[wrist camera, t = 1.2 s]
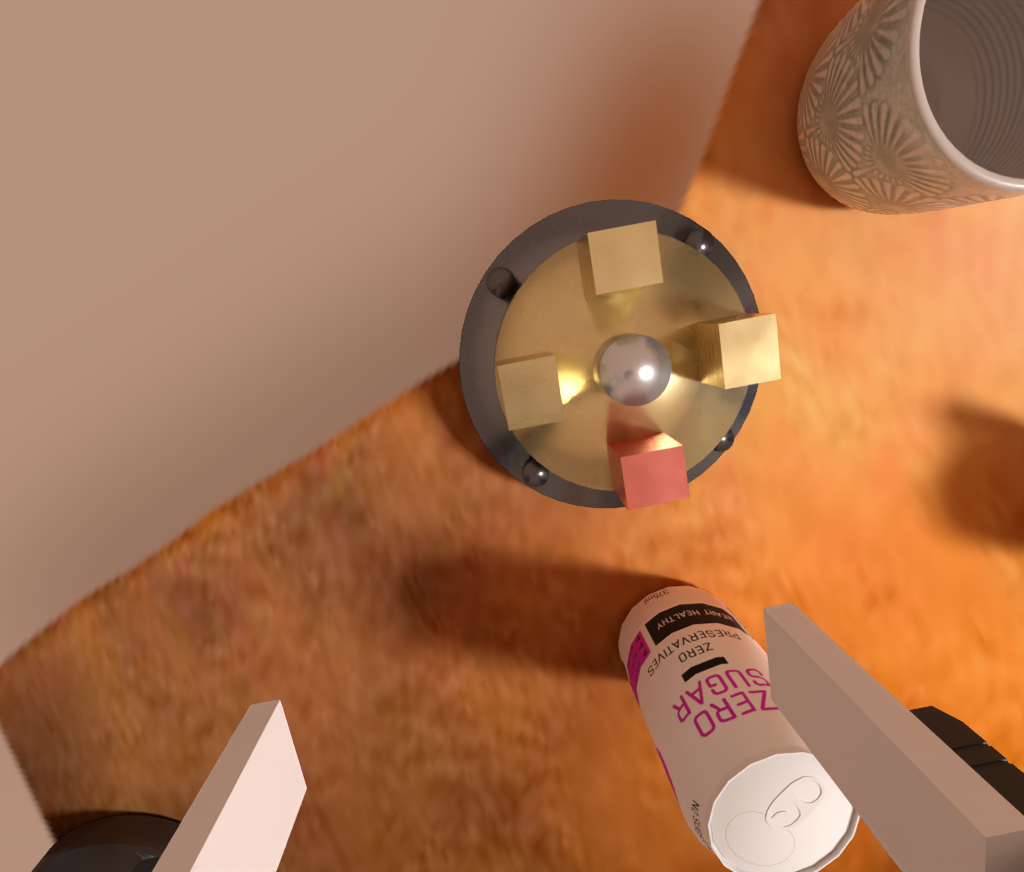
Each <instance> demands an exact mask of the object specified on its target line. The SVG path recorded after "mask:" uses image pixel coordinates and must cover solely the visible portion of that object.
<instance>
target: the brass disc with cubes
mask: <svg viewBox="0 0 1024 872" xmlns="http://www.w3.org/2000/svg"><path fill="white" fill-rule="evenodd" d="M622 333H633V334H642V335H647V336H650V337H652V338H654V339H656V340H658V341H659V342H660V343H661V344H662V345H663V346H664V347H665V349H666V350H667V352H668V354H669V356H670V359H671V365H672V371H671V378H670V381H669V383H668V386H667V387H666V389H665V391H664V392H663V393H662V394H661V395H660V396H659V397H658V398H657V399H655V400H654V401H652V402H651V403H648V404H646V405H642V406H626V405H623V404H620V403H618V402H617V401H615V400H613V399H612V398H610V397H609V396H607V395H606V394H604V393H603V392H602V391H601V390H600V388H599V387H598V386H597V384H596V382H595V379H594V375H593V361H594V358H595V355H596V353H597V351H598V349H599V348H600V347H601V345H602V344H603V343H604V342H605V341H607V340H608V339H609V338H611V337H613V336H615V335H618V334H622ZM494 373H495V381H496V388H497V392H498V396H499V400H500V404H501V407H502V410H503V412H504V415H505V417H506V420H507V424H508V428H509V431H511V430H512V431H513V433H514V435H515V436H516V438H517V439H518V440H519V442H520V443H521V444H522V446H523V447H524V448H525V450H526V451H527V452H528V453H529V454H530V455H531V456H532V457H533V458H534V459H535V460H536V461H537V462H539V463H540V464H541V465H543V466H544V467H545V468H547V469H548V470H549V471H551V472H553V473H554V474H556V475H558V476H560V477H561V478H563V479H565V480H568V481H570V482H573V483H575V484H578V485H581V486H585V487H589V488H593V489H599V490H607V491H614V492H615V493H616V495H617V496H618V497H619V499H620V500H621V501H622V502H623V504H624V505H625V506H626V508H627V509H628V510H630V509H635V508H640V507H645V506H650V505H655V504H661V503H666V502H671V501H676V500H681V499H686V498H689V490H688V482H687V473H686V471H688V470H689V469H690V468H692V467H693V466H695V465H696V464H698V463H699V462H700V461H701V460H703V459H704V458H705V457H706V456H707V455H708V454H709V453H710V452H711V451H712V450H713V449H714V448H715V447H716V446H717V445H718V444H719V442H720V441H721V440H722V439H723V438H724V436H725V435H726V433H727V432H728V430H729V429H730V427H731V426H732V424H733V423H734V421H735V419H736V417H737V415H738V413H739V411H740V409H741V406H742V404H743V401H744V398H745V395H746V393H747V388H748V385H751V384H756V383H762V382H767V381H772V380H777V379H781V374H780V362H779V349H778V337H777V325H776V313H752V314H745V311H744V308H743V306H742V304H741V302H740V300H739V297H738V295H737V293H736V292H735V290H734V288H733V287H732V285H731V284H730V282H729V280H728V279H727V278H726V277H725V276H724V274H723V273H722V272H721V271H720V270H719V268H718V267H717V266H716V265H715V264H713V263H712V262H711V261H710V260H709V259H708V258H707V257H706V256H705V255H703V254H702V253H700V252H699V251H697V250H696V249H694V248H693V247H691V246H689V245H687V244H685V243H683V242H681V241H679V240H677V239H675V238H671V237H668V236H665V235H662V234H659V233H657V226H656V220H654V221H649V222H643V223H638V224H633V225H627V226H622V227H617V228H611V229H606V230H601V231H595V232H590V233H587V234H585V235H584V236H583V237H582V238H580V239H579V240H578V241H576V242H574V243H572V244H570V245H568V246H567V247H565V248H563V249H561V250H560V251H558V252H556V253H555V254H554V255H552V256H551V257H550V258H548V259H547V260H546V261H545V262H543V263H542V264H541V265H540V266H538V267H537V268H536V269H535V270H534V271H533V272H532V273H531V274H530V275H529V276H528V277H527V278H526V279H525V281H524V282H523V283H522V285H521V286H520V287H519V288H518V290H517V291H516V292H515V294H514V296H513V298H512V299H511V301H510V303H509V304H508V306H507V308H506V311H505V313H504V315H503V318H502V320H501V323H500V327H499V330H498V334H497V338H496V345H495V352H494Z"/></svg>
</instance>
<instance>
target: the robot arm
mask: <svg viewBox="0 0 1024 872" xmlns="http://www.w3.org/2000/svg"><path fill="white" fill-rule="evenodd" d="M764 620H765V632H766V644H767V655H768V667H769V679H770V690H771V700H772V701H773V702H774V704H775V705H776V706H777V708H778V709H779V710H780V712H781V713H782V714H783V715H784V717H785V718H786V719H787V721H788V722H789V723H790V725H791V726H792V727H793V729H794V730H795V731H796V733H797V734H798V735H799V737H800V738H801V739H802V741H803V742H804V743H805V744H806V746H807V747H808V748H809V750H810V751H811V752H812V754H813V755H814V756H815V758H816V759H817V760H818V762H819V763H820V764H821V766H822V767H823V768H824V769H825V771H826V772H827V773H828V775H829V776H830V777H831V779H832V780H833V781H834V783H835V784H836V785H837V787H838V788H839V789H840V791H841V792H842V793H843V795H844V796H845V797H846V798H847V800H848V801H849V802H850V804H851V805H852V806H853V808H854V809H855V810H856V812H857V813H858V814H859V816H860V817H861V818H862V820H863V821H864V822H865V824H866V825H867V826H868V827H869V829H870V830H871V831H872V833H873V834H874V835H875V837H876V838H877V839H878V841H879V842H880V843H881V845H882V846H883V847H884V849H885V850H886V851H887V853H888V854H889V855H890V856H891V858H892V859H893V860H894V862H895V863H896V864H897V866H898V867H899V868H900V870H901V871H902V872H1024V773H1023V772H1021V771H1020V770H1019V769H1018V768H1017V767H1016V766H1014V765H1013V764H1009V763H1008V761H1007V759H1006V758H1005V757H1004V756H1002V755H1001V754H1000V753H999V752H998V751H997V750H995V749H994V748H993V747H992V746H988V745H987V742H986V741H985V740H983V739H982V738H981V737H980V736H979V735H978V734H976V733H975V732H974V731H973V730H972V729H970V728H969V727H968V726H967V725H966V724H964V723H963V722H962V721H960V720H958V719H956V718H954V717H952V716H950V715H948V714H946V713H944V712H943V711H941V710H939V709H937V708H935V707H933V706H929V707H923V708H918V709H913V710H908V709H907V708H906V707H905V706H904V705H903V704H901V703H900V702H899V701H898V700H897V699H896V698H895V697H894V696H893V695H892V694H891V693H890V692H888V691H887V690H886V689H885V688H884V687H883V686H882V685H881V684H880V683H879V682H878V681H876V680H875V679H874V678H873V677H872V676H871V675H870V674H869V673H868V672H867V671H866V670H865V669H863V668H862V667H861V666H860V665H859V664H858V663H857V662H856V661H855V660H854V659H853V658H851V657H850V656H849V655H848V654H847V653H846V652H845V651H844V650H843V649H842V648H841V647H840V646H838V645H837V644H836V643H835V642H834V641H833V640H832V639H831V638H830V637H829V636H828V635H826V634H825V633H824V632H823V631H822V630H821V629H820V628H819V627H818V626H817V625H816V624H815V623H813V622H812V621H811V620H810V619H809V618H808V617H807V616H806V615H805V614H804V613H803V612H801V611H800V610H799V609H798V608H797V607H796V606H795V605H794V604H793V603H789V604H784V605H778V606H773V607H768V608H764ZM306 789H307V787H306V784H305V781H304V778H303V774H302V771H301V768H300V764H299V761H298V758H297V754H296V751H295V748H294V744H293V741H292V738H291V734H290V731H289V728H288V724H287V721H286V718H285V714H284V711H283V708H282V704H281V701H280V700H275V701H270V702H264V703H259V704H254V705H250V707H249V709H248V710H247V712H246V714H245V715H244V717H243V719H242V720H241V722H240V724H239V725H238V727H237V729H236V731H235V732H234V734H233V736H232V737H231V739H230V741H229V742H228V744H227V746H226V747H225V749H224V751H223V753H222V754H221V756H220V758H219V759H218V761H217V763H216V764H215V766H214V768H213V769H212V771H211V773H210V774H209V776H208V778H207V780H206V781H205V783H204V785H203V786H202V788H201V790H200V791H199V793H198V795H197V796H196V798H195V800H194V802H193V803H192V805H191V807H190V808H189V810H188V812H187V813H186V815H185V817H184V818H183V820H182V822H181V824H180V823H177V822H174V821H171V820H167V819H164V818H159V817H153V816H144V815H121V816H113V817H107V818H103V819H99V820H95V821H92V822H89V823H87V824H84V825H82V826H80V827H78V828H76V829H74V830H72V831H70V832H69V833H67V834H66V835H64V836H63V837H62V838H61V839H59V840H58V841H57V842H56V843H55V844H54V845H53V846H52V847H51V848H50V849H49V851H48V852H47V853H46V854H45V856H44V857H43V858H42V859H41V860H40V862H39V863H38V864H37V866H36V867H35V868H34V869H33V871H32V872H276V870H277V868H278V865H279V862H280V860H281V857H282V854H283V851H284V849H285V846H286V843H287V841H288V838H289V835H290V832H291V830H292V827H293V824H294V822H295V819H296V816H297V813H298V811H299V808H300V805H301V803H302V800H303V797H304V794H305V792H306Z"/></svg>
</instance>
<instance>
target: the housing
mask: <svg viewBox="0 0 1024 872" xmlns="http://www.w3.org/2000/svg"><path fill="white" fill-rule="evenodd" d="M654 220H656V226H657V233H659V234H662V235H665V236H668V237H671V238H675V239H677V240H679V241H681V242H683V243H685V244H687V245H689V246H691V247H693V248H694V249H696V250H697V251H699V252H700V253H702V254H703V255H705V256H706V257H707V258H708V259H709V260H710V261H711V262H712V263H713V264H715V265H716V266H717V267H718V268H719V270H720V271H721V272H722V273H723V274H724V276H725V277H726V278H727V279H728V280H729V282H730V284H731V285H732V287H733V288H734V290H735V292H736V293H737V295H738V297H739V300H740V302H741V304H742V306H743V308H744V311H745V314H752V313H759V311H758V308H757V304H756V301H755V298H754V294H753V292H752V290H751V288H750V285H749V283H748V281H747V279H746V276H745V275H744V273H743V272H742V270H741V268H740V267H739V265H738V264H737V262H736V260H735V259H734V258H733V256H732V255H731V254H730V253H729V252H728V250H727V249H726V248H725V247H724V246H723V244H722V243H721V242H719V241H718V240H717V239H716V238H715V237H714V236H713V235H712V234H711V233H710V232H709V231H707V230H706V229H704V228H703V227H701V226H700V225H699V224H697V223H696V222H694V221H693V220H691V219H689V218H687V217H685V216H683V215H681V214H679V213H677V212H675V211H673V210H670V209H667V208H664V207H661V206H658V205H655V204H651V203H645V202H640V201H633V200H603V201H595V202H588V203H584V204H580V205H577V206H573V207H569V208H566V209H564V210H562V211H559V212H557V213H554V214H552V215H549V216H548V217H546V218H544V219H542V220H541V221H539V222H537V223H536V224H534V225H532V226H531V227H529V228H528V229H527V230H525V231H524V232H523V233H522V234H520V235H519V236H518V237H516V238H515V239H514V240H513V241H512V242H511V243H510V244H509V245H508V246H507V247H506V248H505V249H504V250H503V251H502V252H501V253H500V254H499V255H498V256H497V258H496V259H495V260H494V262H493V263H492V264H491V266H490V267H489V268H488V270H487V271H486V273H485V274H484V276H483V278H482V280H481V281H480V283H479V285H478V287H477V288H476V290H475V293H474V295H473V297H472V300H471V303H470V305H469V307H468V310H467V314H466V317H465V321H464V325H463V329H462V335H461V343H460V378H461V385H462V392H463V395H464V399H465V403H466V406H467V410H468V413H469V415H470V417H471V420H472V422H473V424H474V427H475V429H476V431H477V432H478V434H479V436H480V437H481V439H482V441H483V443H484V444H485V446H486V447H487V448H488V450H489V451H490V452H491V453H492V455H493V456H494V457H495V459H496V460H497V461H498V462H499V463H500V464H501V465H502V466H503V467H504V468H505V469H506V470H507V471H508V472H509V473H510V474H512V475H513V476H514V477H516V478H517V479H518V480H520V481H521V482H522V483H524V484H525V485H527V486H528V487H530V488H532V489H534V490H535V491H537V492H539V493H541V494H543V495H545V496H548V497H550V498H553V499H555V500H558V501H561V502H565V503H569V504H573V505H576V506H583V507H592V508H619V507H626V506H625V505H624V504H623V502H622V501H621V500H620V499H619V497H618V496H617V495H616V493H615V492H614V491H607V490H599V489H593V488H589V487H585V486H581V485H578V484H575V483H573V482H570V481H568V480H565V479H563V478H561V477H560V476H558V475H556V474H554V473H553V472H551V471H549V470H548V469H547V468H545V467H544V466H543V465H541V464H540V463H539V462H537V461H536V460H535V459H534V458H533V457H532V456H531V455H530V454H529V453H528V452H527V451H526V450H525V448H524V447H523V446H522V444H521V443H520V442H519V440H518V439H517V438H516V436H515V435H514V433H513V431H512V430H511V431H509V428H508V424H507V420H506V417H505V415H504V412H503V410H502V407H501V404H500V400H499V396H498V392H497V388H496V381H495V373H494V352H495V345H496V338H497V334H498V330H499V327H500V323H501V320H502V318H503V315H504V313H505V311H506V308H507V306H508V304H509V303H510V301H511V299H512V298H513V296H514V294H515V292H516V291H517V290H518V288H519V287H520V286H521V285H522V283H523V282H524V281H525V279H526V278H527V277H528V276H529V275H530V274H531V273H532V272H533V271H534V270H535V269H536V268H537V267H538V266H540V265H541V264H542V263H543V262H545V261H546V260H547V259H548V258H550V257H551V256H552V255H554V254H555V253H556V252H558V251H560V250H561V249H563V248H565V247H567V246H568V245H570V244H572V243H574V242H576V241H578V240H579V239H580V238H582V237H583V236H584V235H585V234H587V233H590V232H595V231H601V230H606V229H611V228H617V227H622V226H627V225H633V224H638V223H643V222H649V221H654ZM671 371H672V365H671V359H670V356H669V354H668V352H667V350H666V349H665V347H664V346H663V345H662V344H661V343H660V342H659V341H658V340H656V339H654V338H652V337H650V336H647V335H642V334H633V333H622V334H618V335H615V336H613V337H611V338H609V339H608V340H607V341H605V342H604V343H603V344H602V345H601V347H600V348H599V349H598V351H597V353H596V355H595V358H594V361H593V375H594V379H595V382H596V384H597V386H598V387H599V388H600V390H601V391H602V392H603V393H604V394H606V395H607V396H609V397H610V398H612V399H613V400H615V401H617V402H618V403H620V404H623V405H626V406H642V405H646V404H648V403H651V402H652V401H654V400H655V399H657V398H658V397H659V396H660V395H661V394H662V393H663V392H664V391H665V389H666V387H667V386H668V383H669V381H670V378H671ZM758 384H759V383H756V384H751V385H748V388H747V393H746V395H745V398H744V401H743V404H742V406H741V409H740V411H739V413H738V415H737V417H736V419H735V421H734V423H733V424H732V426H731V427H730V429H729V430H728V432H727V433H726V435H725V436H724V438H723V439H722V440H721V441H720V442H719V444H718V445H717V446H716V447H715V448H714V449H713V450H712V451H711V452H710V453H709V454H708V455H707V456H706V457H705V458H704V459H703V460H701V461H700V462H699V463H698V464H696V465H695V466H693V467H692V468H690V469H689V470H688V471H686V473H687V482H688V483H690V482H691V481H692V480H694V479H695V478H697V477H698V476H699V475H701V474H702V473H703V472H704V471H706V470H707V469H708V468H709V467H710V466H711V465H712V464H713V463H714V462H715V461H717V459H718V458H719V457H720V456H721V455H722V454H723V453H724V451H726V450H728V449H729V448H730V447H731V446H732V444H733V442H734V438H735V437H736V435H737V434H738V432H739V431H740V429H741V427H742V425H743V423H744V421H745V420H746V418H747V416H748V414H749V412H750V409H751V406H752V403H753V401H754V398H755V395H756V392H757V388H758Z"/></svg>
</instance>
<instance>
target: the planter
mask: <svg viewBox="0 0 1024 872" xmlns="http://www.w3.org/2000/svg"><path fill="white" fill-rule="evenodd" d="M797 132H798V140H799V145H800V149H801V153H802V156H803V159H804V161H805V163H806V166H807V168H808V170H809V171H810V173H811V175H812V176H813V178H814V179H815V181H816V182H817V183H818V185H819V186H820V187H821V188H822V189H823V190H824V191H825V192H826V193H828V194H829V195H830V196H831V197H833V198H834V199H836V200H837V201H839V202H841V203H842V204H844V205H846V206H848V207H851V208H854V209H856V210H859V211H864V212H869V213H875V214H887V215H890V214H912V213H922V212H929V211H936V210H942V209H949V208H955V207H961V206H966V205H972V204H977V203H983V202H988V201H994V200H999V199H1004V198H1010V197H1015V196H1020V195H1024V0H859V1H858V2H857V3H856V4H855V5H854V6H853V7H852V8H851V10H850V11H849V12H848V13H847V14H846V15H845V16H844V17H843V18H842V20H841V21H840V22H839V23H838V24H837V26H836V27H835V28H834V29H833V30H832V31H831V33H830V34H829V36H828V37H827V38H826V40H825V41H824V43H823V44H822V46H821V47H820V49H819V50H818V52H817V54H816V56H815V57H814V59H813V61H812V63H811V65H810V67H809V69H808V72H807V74H806V77H805V80H804V83H803V86H802V90H801V94H800V98H799V104H798V112H797Z"/></svg>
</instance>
